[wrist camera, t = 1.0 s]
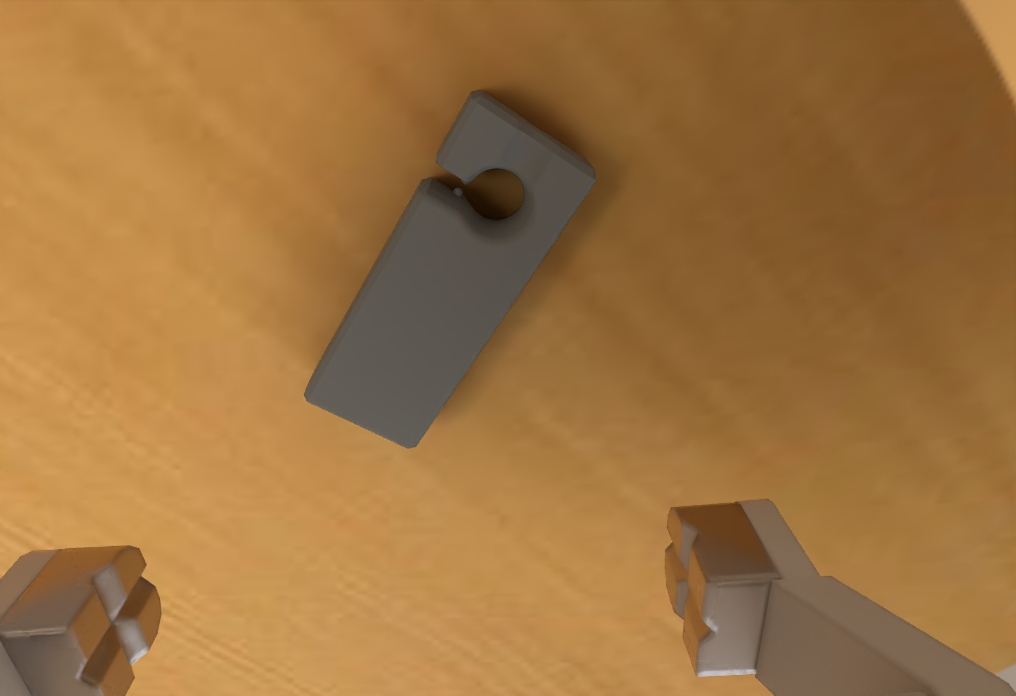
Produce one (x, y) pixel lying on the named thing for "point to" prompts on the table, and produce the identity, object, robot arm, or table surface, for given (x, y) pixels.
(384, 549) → the table surface
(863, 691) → the robot arm
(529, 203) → the bracket
